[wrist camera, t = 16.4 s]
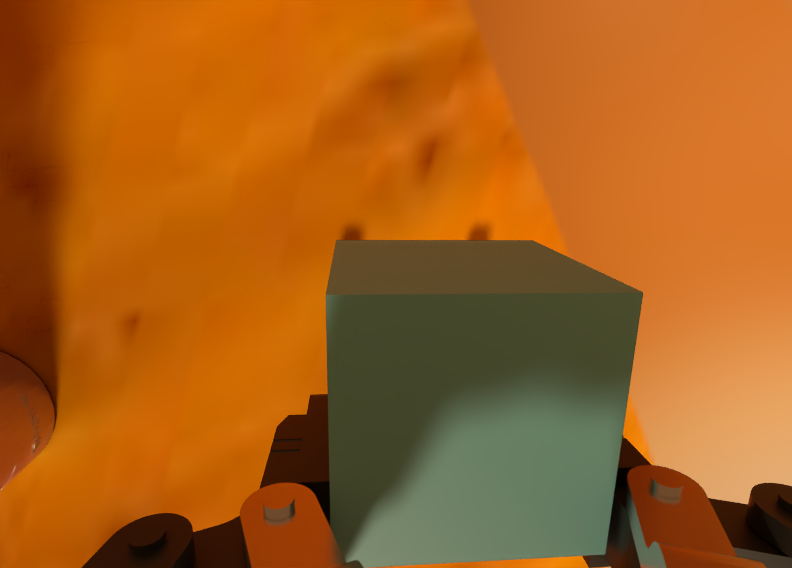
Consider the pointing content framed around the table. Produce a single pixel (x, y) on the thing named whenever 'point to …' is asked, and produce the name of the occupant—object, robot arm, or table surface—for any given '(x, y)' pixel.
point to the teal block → (473, 400)
